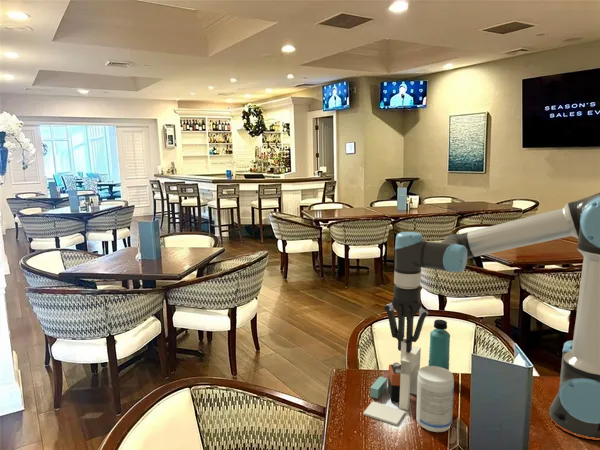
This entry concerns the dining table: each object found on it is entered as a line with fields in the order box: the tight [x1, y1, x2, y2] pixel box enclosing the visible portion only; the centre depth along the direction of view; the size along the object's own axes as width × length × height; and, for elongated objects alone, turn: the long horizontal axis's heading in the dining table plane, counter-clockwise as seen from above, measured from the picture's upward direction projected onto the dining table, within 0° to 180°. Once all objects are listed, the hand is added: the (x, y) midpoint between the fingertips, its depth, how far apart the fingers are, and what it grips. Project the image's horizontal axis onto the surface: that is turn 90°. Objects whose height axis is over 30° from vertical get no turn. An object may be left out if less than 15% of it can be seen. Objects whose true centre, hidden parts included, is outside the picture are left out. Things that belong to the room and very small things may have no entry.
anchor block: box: [369, 376, 388, 400], centre depth 139 cm, size 2×8×3 cm, turn 149°
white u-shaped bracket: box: [398, 345, 422, 411], centre depth 133 cm, size 2×11×15 cm, turn 149°
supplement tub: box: [415, 365, 455, 433], centre depth 122 cm, size 10×10×15 cm
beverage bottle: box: [428, 319, 451, 371], centre depth 146 cm, size 6×7×20 cm
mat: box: [362, 400, 406, 427], centre depth 128 cm, size 10×7×1 cm
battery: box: [387, 362, 401, 403], centre depth 136 cm, size 4×7×10 cm, turn 178°
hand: (404, 361), depth 134 cm, fingers closed
